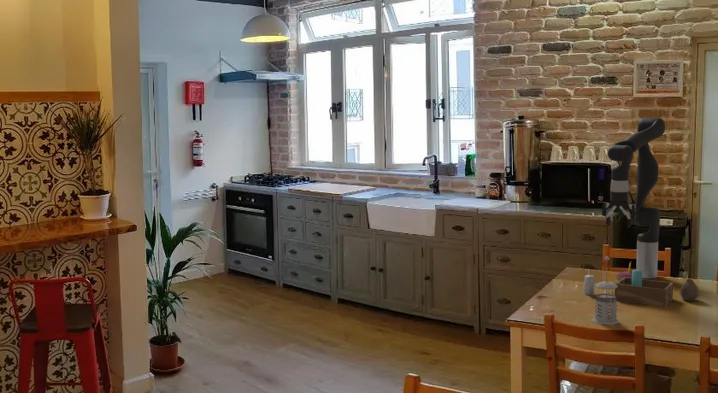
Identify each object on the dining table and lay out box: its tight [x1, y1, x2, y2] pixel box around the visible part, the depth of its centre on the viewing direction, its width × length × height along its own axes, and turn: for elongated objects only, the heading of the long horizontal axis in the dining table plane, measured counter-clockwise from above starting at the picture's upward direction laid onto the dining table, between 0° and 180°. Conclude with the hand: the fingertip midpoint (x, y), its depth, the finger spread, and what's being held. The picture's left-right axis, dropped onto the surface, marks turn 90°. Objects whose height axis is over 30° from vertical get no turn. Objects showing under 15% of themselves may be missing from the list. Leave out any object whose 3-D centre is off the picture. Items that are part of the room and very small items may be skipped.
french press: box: [591, 256, 620, 326], centre depth 270 cm, size 10×12×25 cm
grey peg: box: [583, 274, 595, 296], centre depth 311 cm, size 4×4×8 cm
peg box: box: [614, 277, 674, 308], centre depth 300 cm, size 14×20×7 cm
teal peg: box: [631, 269, 643, 287], centre depth 302 cm, size 4×4×12 cm
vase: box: [679, 278, 699, 302], centre depth 298 cm, size 7×7×9 cm
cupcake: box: [615, 261, 632, 282], centre depth 321 cm, size 9×8×12 cm
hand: (618, 226), depth 317 cm, fingers open, 8 cm apart
